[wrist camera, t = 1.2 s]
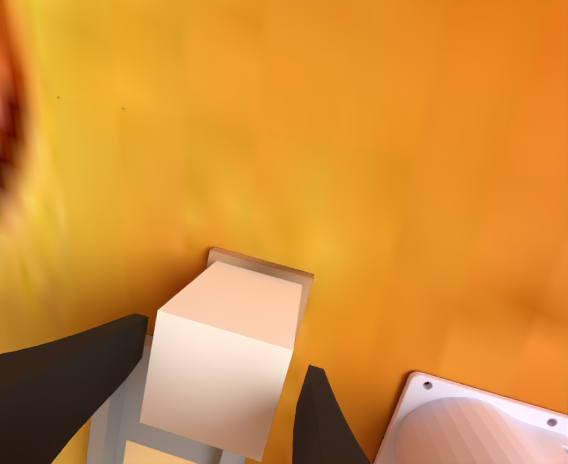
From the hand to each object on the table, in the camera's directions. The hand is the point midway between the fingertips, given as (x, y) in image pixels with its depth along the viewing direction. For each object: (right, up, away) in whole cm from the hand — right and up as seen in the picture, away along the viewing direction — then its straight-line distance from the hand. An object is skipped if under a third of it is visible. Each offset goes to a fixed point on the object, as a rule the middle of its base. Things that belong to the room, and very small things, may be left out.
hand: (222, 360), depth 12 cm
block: (+1, +1, +4) cm, 4 cm away
